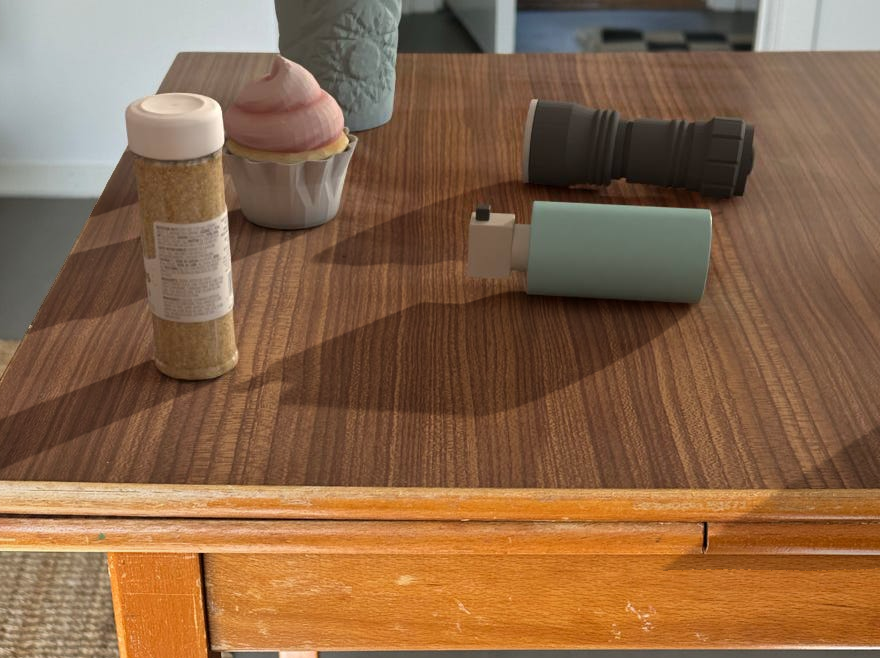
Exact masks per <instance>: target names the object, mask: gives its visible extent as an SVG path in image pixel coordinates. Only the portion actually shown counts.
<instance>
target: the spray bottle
mask: <svg viewBox="0 0 880 658" xmlns="http://www.w3.org/2000/svg"><path fill="white" fill-rule="evenodd" d="M491 209H492V205H490V204H484V203H483V204H481V203H478V204H476V208H475V211H472V212H471V216H470V219H469V225H468V249H467V250H468V252H467V278H469V279H485V280H487V279H488V280H504V281H505V280H506V281H508V280H511V275H512V271H517V272H527V274H526V289H525V292H526V295H531V296H532V295H534V296H549V297H552V296H553V297H569V298H588V299H603V300H622V301H641V302H642V301H644V302H656V303H657V302H658V303H659V302H660V303H675V304H677V303H678V304H680V303H681V304H695V305H696V304H697V305H698V304H700V303H701V301H702V300H703V297H704V293H705V288H706V285H707V284H706V283H707V278H708V272H709V265H710V256H711V248H712V247H711V245H712V231H713V230H712V229H713V227H712V226H713V219H712V212H711V210H710V209H706V208H705V209H704V208H687V207H685V208H684V207H667V206H666V207H663V206H648V205H647V206H646V205H627V204H626V205H624V204H604V203H603V204H602V203H585V202H566V201H565V202H564V201H563V202H562V201H545V200H544V201H542V200H541V201H540V200H534V201H533V203H532V210H531V220H530V224H526V223H515V222H516V221H515V220H516V215H515V213H499V212H491Z"/></svg>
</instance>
